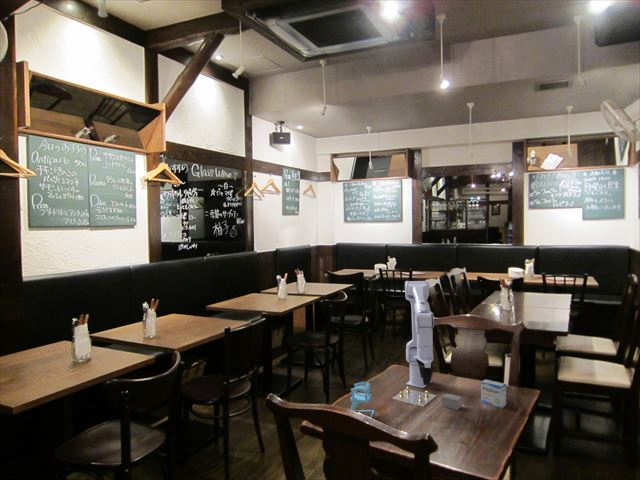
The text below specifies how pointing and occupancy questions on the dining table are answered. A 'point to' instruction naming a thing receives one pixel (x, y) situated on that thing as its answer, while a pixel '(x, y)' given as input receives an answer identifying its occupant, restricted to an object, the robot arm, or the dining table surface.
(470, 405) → the dining table surface
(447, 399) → the plain grey block
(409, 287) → the robot arm
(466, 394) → the dining table surface
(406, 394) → the plate with brass knobs
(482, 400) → the medicine box
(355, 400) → the chair
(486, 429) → the dining table surface
